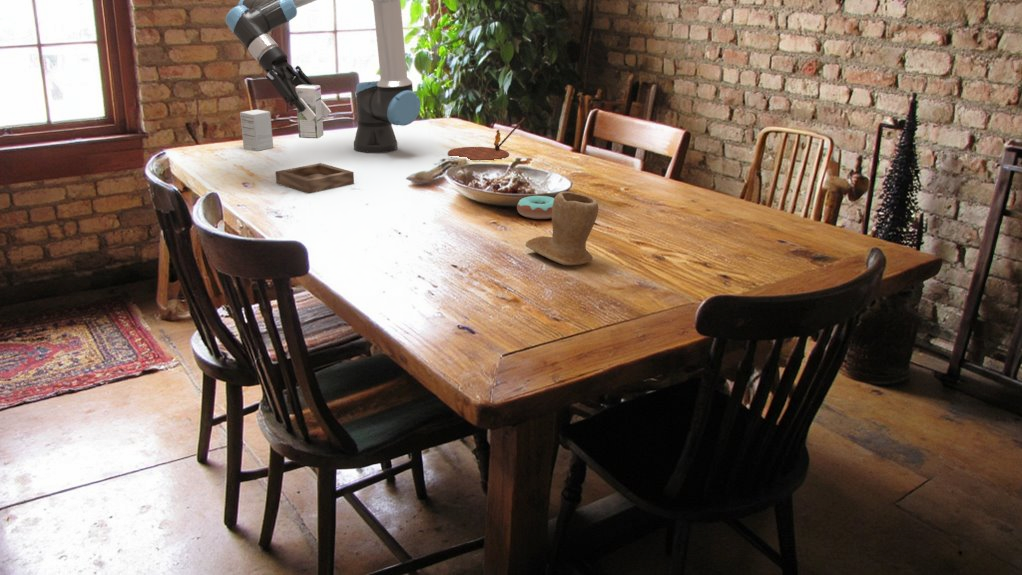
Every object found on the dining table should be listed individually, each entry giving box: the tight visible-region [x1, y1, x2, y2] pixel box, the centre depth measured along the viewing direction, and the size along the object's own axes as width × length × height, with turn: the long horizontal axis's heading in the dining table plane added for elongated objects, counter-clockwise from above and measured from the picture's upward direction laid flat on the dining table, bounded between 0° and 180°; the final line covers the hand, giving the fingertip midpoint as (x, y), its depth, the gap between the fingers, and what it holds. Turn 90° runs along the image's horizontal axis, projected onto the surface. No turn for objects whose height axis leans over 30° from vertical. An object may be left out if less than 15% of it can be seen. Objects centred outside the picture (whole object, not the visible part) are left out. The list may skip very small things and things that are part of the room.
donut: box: [516, 195, 555, 220], centre depth 222 cm, size 12×12×4 cm
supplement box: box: [239, 109, 274, 152], centre depth 290 cm, size 7×7×13 cm
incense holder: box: [447, 117, 526, 161], centre depth 290 cm, size 21×30×11 cm
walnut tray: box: [274, 162, 355, 194], centre depth 248 cm, size 16×16×4 cm
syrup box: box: [294, 84, 324, 139], centre depth 241 cm, size 6×6×14 cm
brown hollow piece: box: [525, 191, 599, 266], centre depth 187 cm, size 15×12×15 cm
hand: (320, 116), depth 240 cm, fingers closed on syrup box, 7 cm apart
